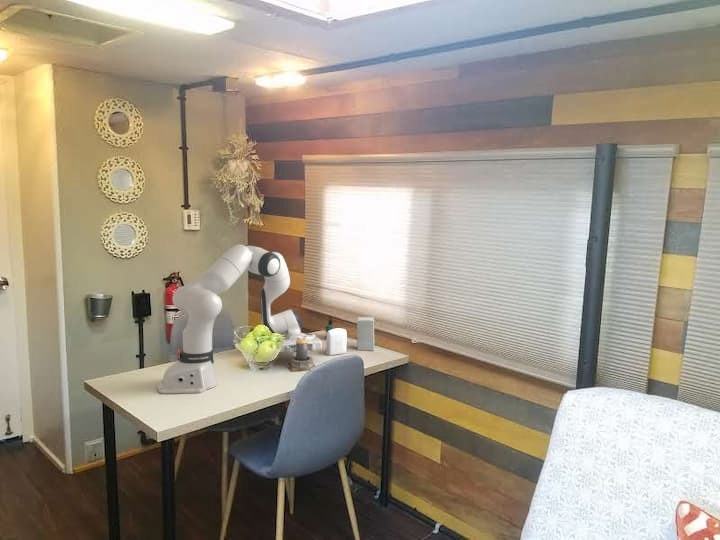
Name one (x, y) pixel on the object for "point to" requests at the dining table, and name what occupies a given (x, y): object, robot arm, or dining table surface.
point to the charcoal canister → (301, 350)
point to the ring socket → (301, 364)
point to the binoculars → (329, 326)
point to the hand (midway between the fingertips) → (302, 350)
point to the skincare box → (365, 333)
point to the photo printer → (336, 341)
